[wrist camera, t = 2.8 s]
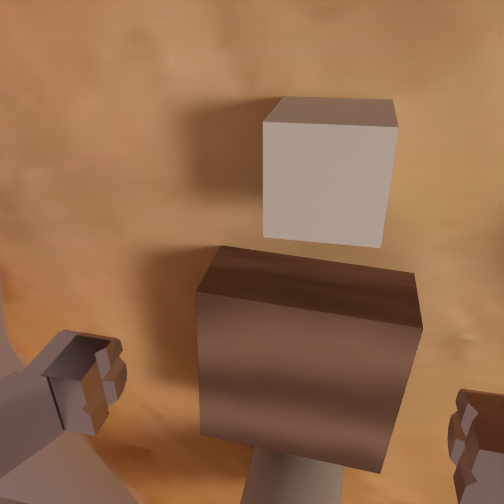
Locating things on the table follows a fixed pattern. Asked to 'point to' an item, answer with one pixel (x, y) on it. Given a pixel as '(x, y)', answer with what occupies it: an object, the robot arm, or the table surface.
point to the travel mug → (291, 480)
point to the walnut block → (305, 354)
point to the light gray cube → (328, 169)
